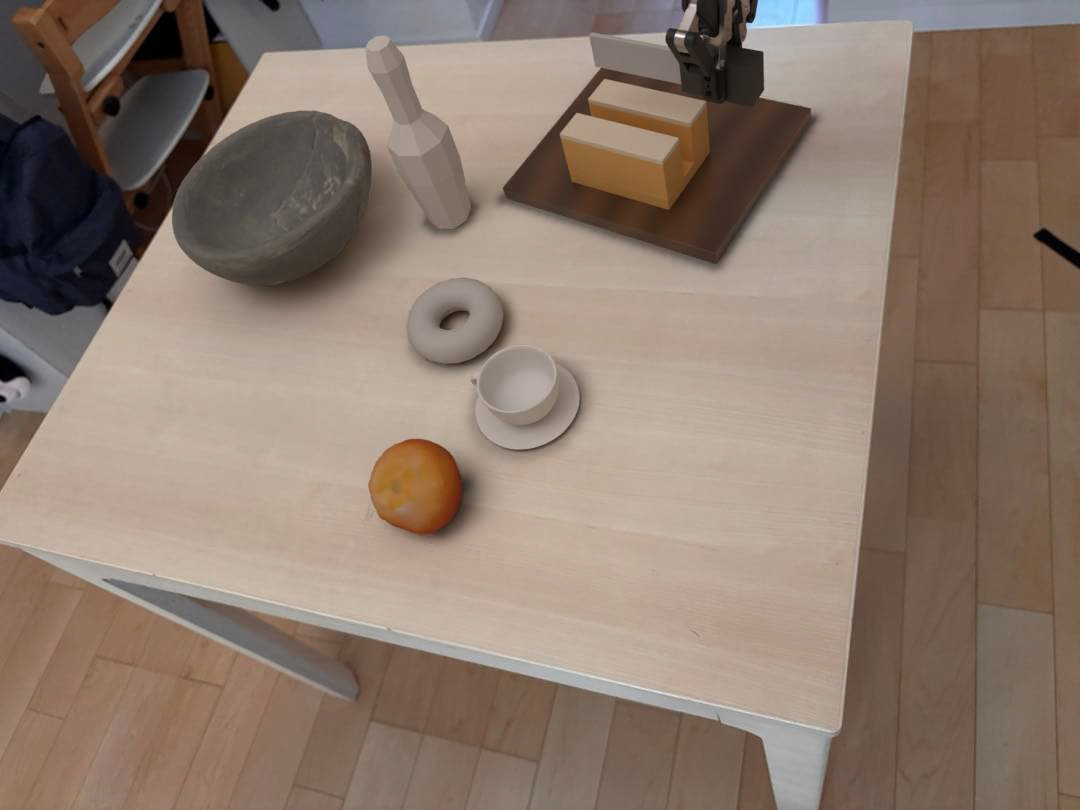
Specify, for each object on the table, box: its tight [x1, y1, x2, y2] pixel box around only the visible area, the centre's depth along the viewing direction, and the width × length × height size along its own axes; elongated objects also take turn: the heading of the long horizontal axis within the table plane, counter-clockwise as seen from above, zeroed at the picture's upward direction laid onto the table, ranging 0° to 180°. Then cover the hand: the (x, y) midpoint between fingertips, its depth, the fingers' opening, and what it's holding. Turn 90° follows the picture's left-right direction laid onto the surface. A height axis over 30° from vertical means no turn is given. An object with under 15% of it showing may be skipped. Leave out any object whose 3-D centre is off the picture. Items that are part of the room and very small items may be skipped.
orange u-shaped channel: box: [560, 79, 710, 210], centre depth 90 cm, size 12×9×7 cm
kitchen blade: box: [588, 31, 765, 107], centre depth 79 cm, size 17×2×4 cm, turn 57°
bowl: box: [171, 110, 373, 286], centre depth 97 cm, size 23×22×10 cm
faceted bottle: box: [365, 35, 472, 230], centre depth 89 cm, size 6×6×22 cm
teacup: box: [469, 343, 580, 450], centre depth 79 cm, size 10×10×5 cm
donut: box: [405, 277, 504, 365], centre depth 87 cm, size 10×4×10 cm
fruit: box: [367, 438, 464, 535], centre depth 75 cm, size 8×8×8 cm
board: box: [502, 67, 812, 264], centre depth 94 cm, size 26×22×2 cm
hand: (723, 88), depth 78 cm, fingers closed on kitchen blade, 2 cm apart
